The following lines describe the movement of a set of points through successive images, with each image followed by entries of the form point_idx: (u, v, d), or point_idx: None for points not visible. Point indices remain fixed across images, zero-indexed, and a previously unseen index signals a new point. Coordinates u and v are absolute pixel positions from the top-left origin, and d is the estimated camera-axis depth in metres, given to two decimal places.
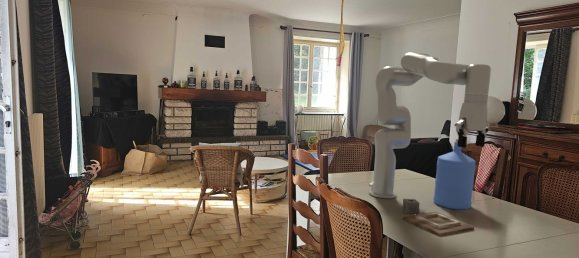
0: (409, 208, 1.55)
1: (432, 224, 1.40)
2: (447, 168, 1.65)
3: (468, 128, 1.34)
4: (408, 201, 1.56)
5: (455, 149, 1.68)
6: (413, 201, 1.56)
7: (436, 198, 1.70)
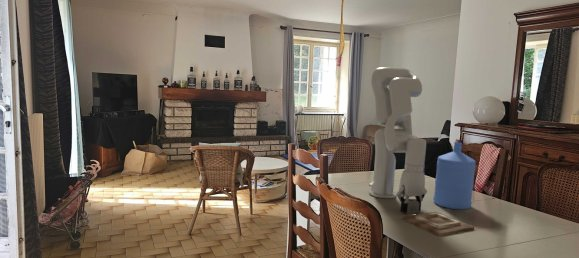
0: (409, 208, 1.55)
1: (432, 224, 1.40)
2: (447, 168, 1.65)
3: (406, 195, 1.53)
4: (408, 201, 1.56)
5: (455, 149, 1.68)
6: (413, 201, 1.56)
7: (436, 198, 1.70)
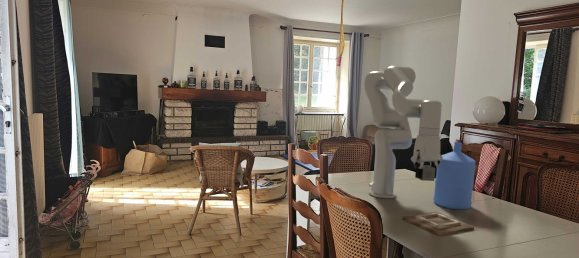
0: (424, 174, 1.47)
1: (432, 224, 1.40)
2: (447, 168, 1.65)
3: (421, 159, 1.46)
4: (423, 167, 1.49)
5: (455, 149, 1.68)
6: (428, 167, 1.49)
7: (436, 198, 1.70)
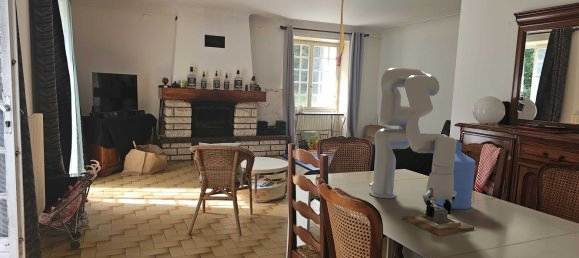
0: (436, 217, 1.43)
1: (432, 224, 1.40)
2: None
3: (434, 198, 1.40)
4: (435, 209, 1.44)
5: None
6: (441, 209, 1.44)
7: None
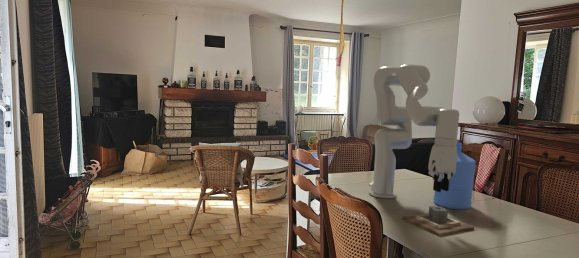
0: (436, 217, 1.43)
1: (432, 224, 1.40)
2: None
3: (437, 171, 1.39)
4: (435, 209, 1.44)
5: None
6: (441, 209, 1.44)
7: (436, 198, 1.70)
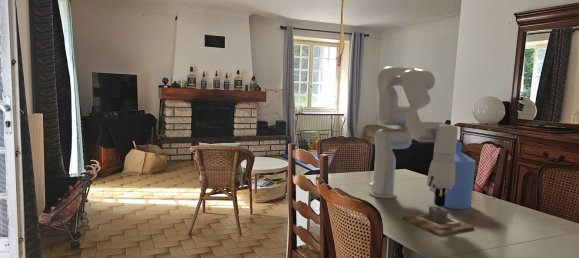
0: (436, 217, 1.43)
1: (432, 224, 1.40)
2: None
3: (436, 186, 1.40)
4: (435, 209, 1.44)
5: None
6: (441, 209, 1.44)
7: None
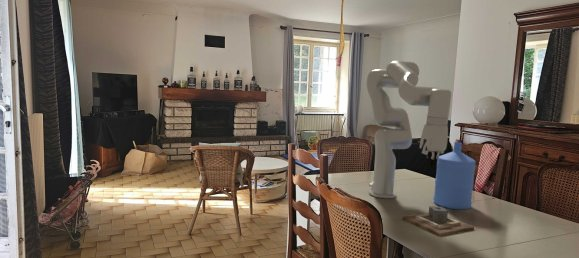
0: (436, 217, 1.43)
1: (432, 224, 1.40)
2: (447, 168, 1.65)
3: (428, 149, 1.43)
4: (435, 209, 1.44)
5: (455, 149, 1.68)
6: (441, 209, 1.44)
7: (436, 198, 1.70)
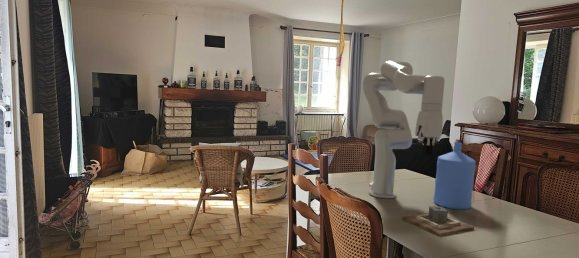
0: (436, 217, 1.43)
1: (432, 224, 1.40)
2: (447, 168, 1.65)
3: (423, 135, 1.45)
4: (435, 209, 1.44)
5: (455, 149, 1.68)
6: (441, 209, 1.44)
7: (436, 198, 1.70)
